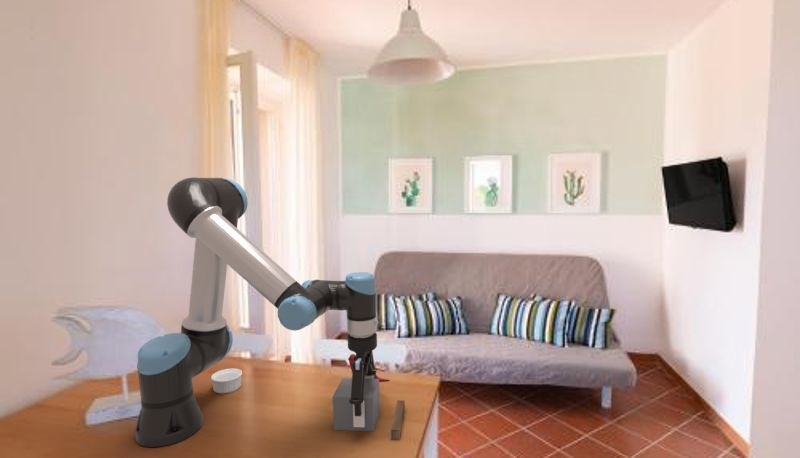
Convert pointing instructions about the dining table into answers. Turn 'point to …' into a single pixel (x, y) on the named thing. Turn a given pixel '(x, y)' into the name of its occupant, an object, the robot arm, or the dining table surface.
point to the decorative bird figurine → (372, 375)
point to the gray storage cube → (345, 409)
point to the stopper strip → (398, 420)
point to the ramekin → (226, 380)
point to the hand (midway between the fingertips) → (364, 411)
